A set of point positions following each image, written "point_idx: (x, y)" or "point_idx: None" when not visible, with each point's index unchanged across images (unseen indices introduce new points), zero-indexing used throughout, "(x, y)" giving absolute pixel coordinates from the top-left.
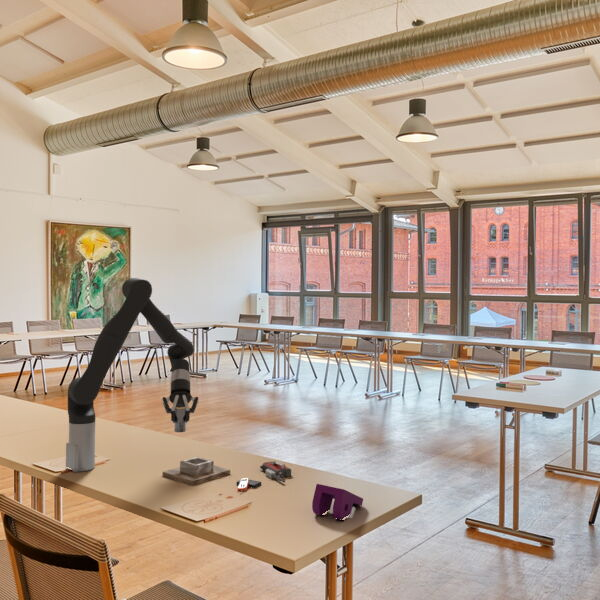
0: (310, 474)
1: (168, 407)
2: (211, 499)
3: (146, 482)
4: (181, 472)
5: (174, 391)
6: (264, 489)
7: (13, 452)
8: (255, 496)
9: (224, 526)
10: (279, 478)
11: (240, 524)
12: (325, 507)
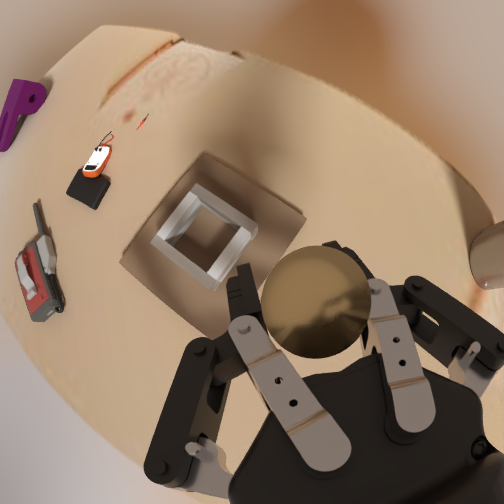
0: (3, 277)
1: (420, 291)
2: (160, 98)
3: (326, 167)
4: (249, 217)
5: (468, 470)
6: (68, 169)
7: None
8: (88, 131)
9: (148, 40)
10: (37, 214)
11: (129, 48)
12: (32, 100)
